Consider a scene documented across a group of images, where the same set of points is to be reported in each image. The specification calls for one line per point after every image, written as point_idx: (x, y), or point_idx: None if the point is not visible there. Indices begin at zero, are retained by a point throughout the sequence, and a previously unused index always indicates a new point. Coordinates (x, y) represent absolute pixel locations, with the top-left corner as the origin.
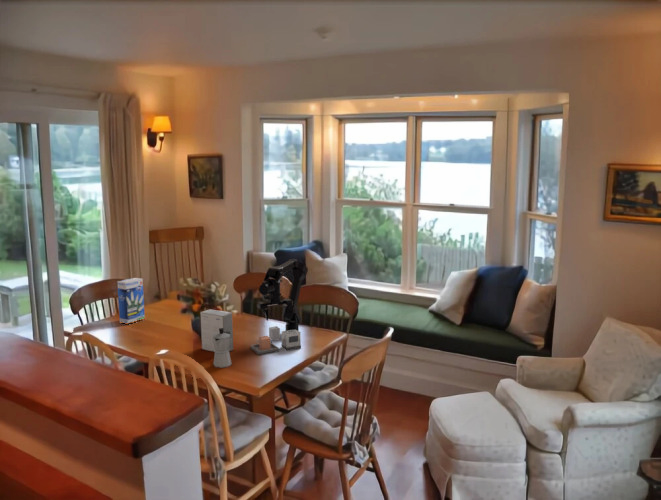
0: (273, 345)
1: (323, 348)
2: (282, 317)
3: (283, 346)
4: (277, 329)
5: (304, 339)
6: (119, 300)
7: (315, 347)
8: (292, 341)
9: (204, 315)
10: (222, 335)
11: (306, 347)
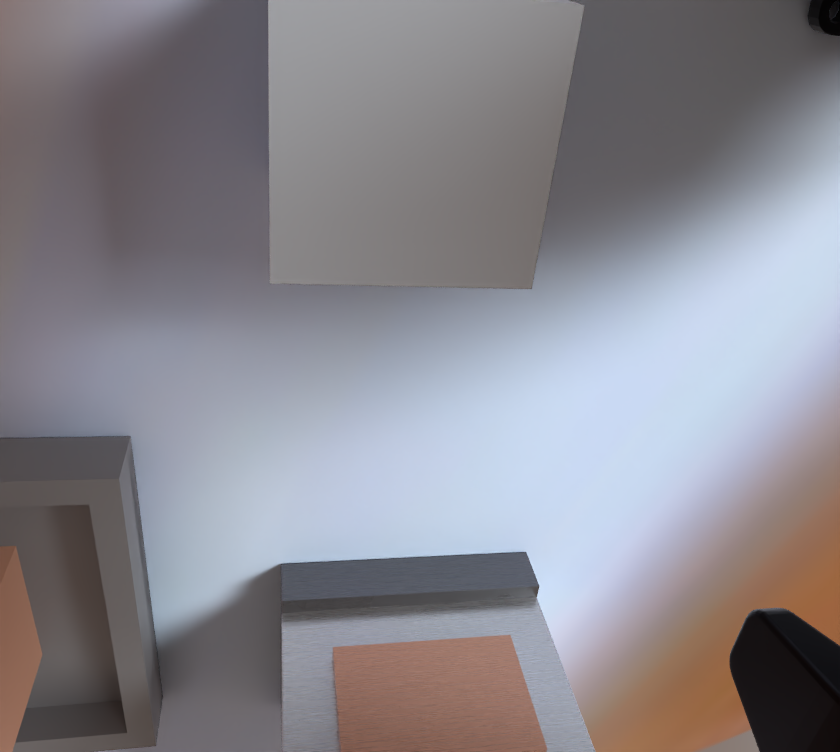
0: (111, 635)
1: (702, 748)
2: (762, 627)
3: (281, 646)
4: (451, 280)
5: (786, 420)
6: None
7: (658, 706)
8: None
9: None
10: None
11: (574, 680)
